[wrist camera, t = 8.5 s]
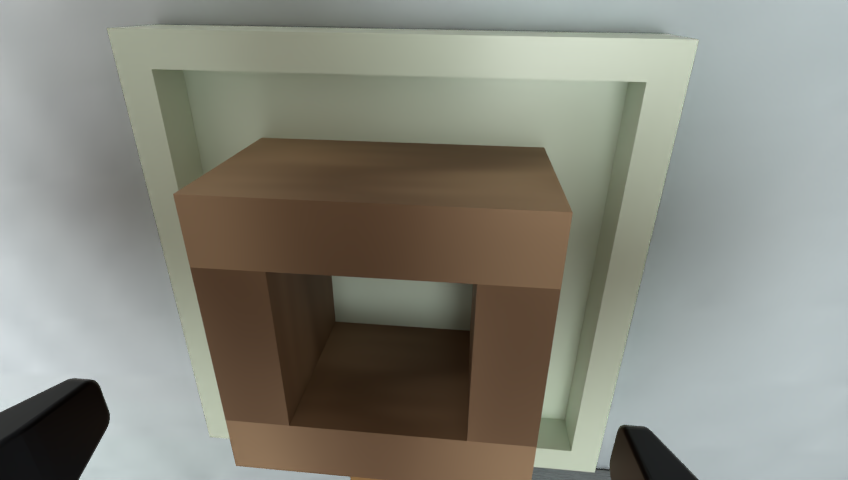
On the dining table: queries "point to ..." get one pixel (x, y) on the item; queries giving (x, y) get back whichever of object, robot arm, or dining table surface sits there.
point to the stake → (568, 474)
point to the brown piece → (371, 343)
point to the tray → (435, 124)
